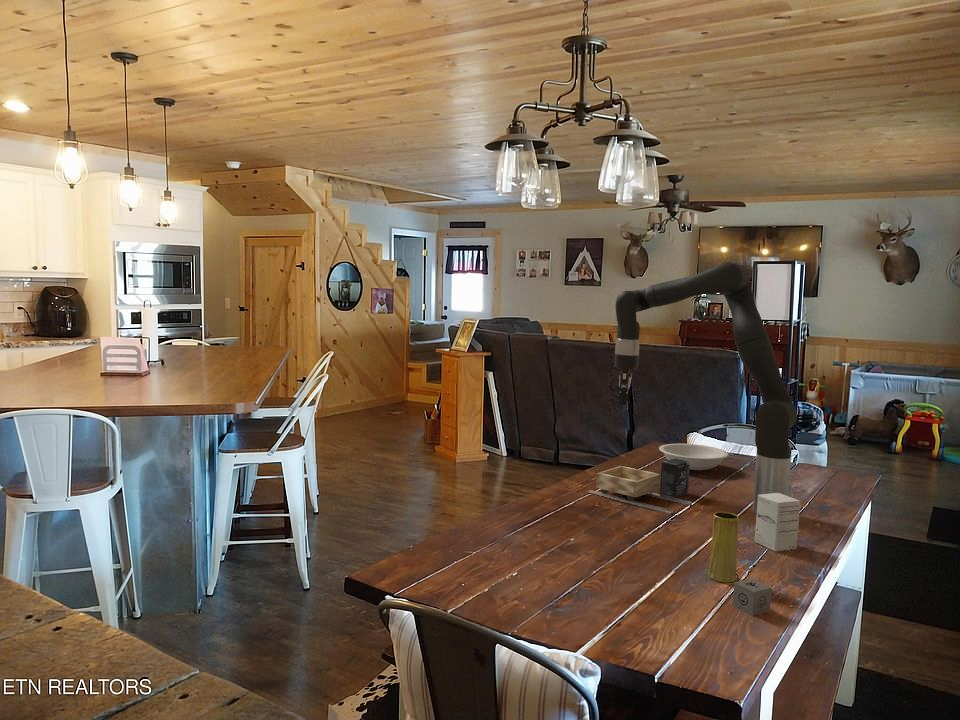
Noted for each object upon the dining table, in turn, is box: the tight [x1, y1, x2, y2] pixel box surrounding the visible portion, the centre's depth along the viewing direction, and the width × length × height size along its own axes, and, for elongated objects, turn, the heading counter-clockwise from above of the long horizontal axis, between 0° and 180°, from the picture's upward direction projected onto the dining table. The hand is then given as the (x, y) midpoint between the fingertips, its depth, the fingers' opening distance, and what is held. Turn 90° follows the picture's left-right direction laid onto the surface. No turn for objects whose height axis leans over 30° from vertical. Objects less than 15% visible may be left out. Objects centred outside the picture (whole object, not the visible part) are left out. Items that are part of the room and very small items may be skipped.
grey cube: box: [732, 578, 773, 617], centre depth 146 cm, size 5×5×5 cm
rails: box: [587, 489, 693, 515], centre depth 221 cm, size 28×14×1 cm, turn 48°
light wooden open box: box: [595, 465, 661, 501], centre depth 223 cm, size 14×14×6 cm
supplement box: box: [754, 493, 802, 552], centre depth 182 cm, size 7×7×13 cm
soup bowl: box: [658, 443, 729, 471], centre depth 261 cm, size 24×24×7 cm
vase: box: [707, 511, 739, 584], centre depth 160 cm, size 6×6×14 cm
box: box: [659, 458, 690, 498], centre depth 227 cm, size 8×6×11 cm
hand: (623, 402), depth 234 cm, fingers open, 8 cm apart
